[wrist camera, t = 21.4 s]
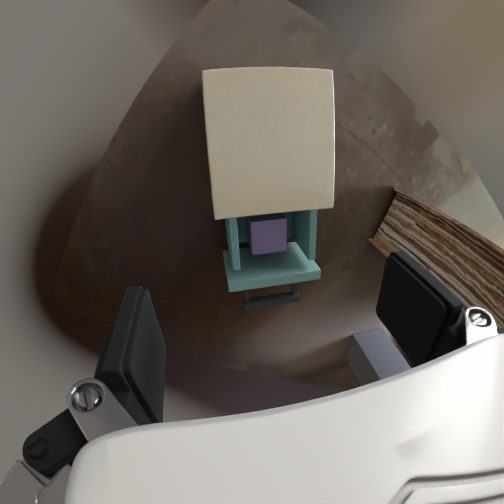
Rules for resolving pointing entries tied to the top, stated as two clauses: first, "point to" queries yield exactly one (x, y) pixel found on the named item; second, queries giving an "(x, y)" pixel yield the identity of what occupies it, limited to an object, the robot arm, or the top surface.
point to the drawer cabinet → (269, 139)
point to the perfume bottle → (374, 357)
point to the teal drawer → (272, 260)
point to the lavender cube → (267, 233)
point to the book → (446, 252)
